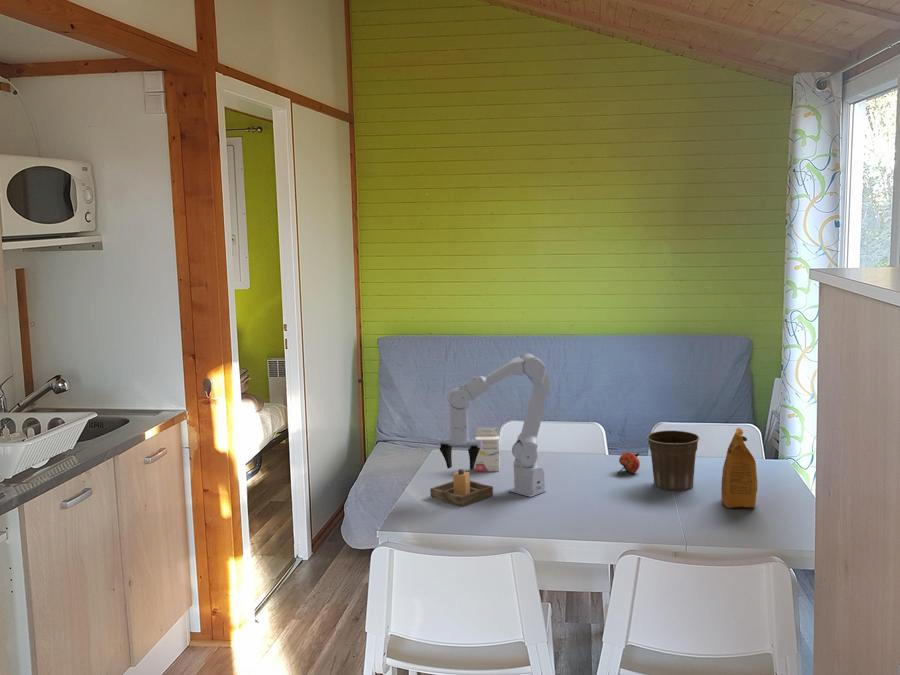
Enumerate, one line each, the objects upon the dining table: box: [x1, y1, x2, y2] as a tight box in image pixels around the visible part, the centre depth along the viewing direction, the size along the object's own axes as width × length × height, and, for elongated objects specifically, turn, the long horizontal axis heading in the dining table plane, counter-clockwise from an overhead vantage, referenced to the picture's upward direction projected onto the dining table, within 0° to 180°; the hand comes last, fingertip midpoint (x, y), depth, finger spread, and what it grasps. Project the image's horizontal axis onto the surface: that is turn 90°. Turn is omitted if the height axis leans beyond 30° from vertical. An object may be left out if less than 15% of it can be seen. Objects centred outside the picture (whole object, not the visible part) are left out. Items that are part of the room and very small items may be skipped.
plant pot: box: [646, 430, 700, 492], centre depth 272 cm, size 16×16×16 cm
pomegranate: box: [617, 452, 641, 475], centre depth 288 cm, size 7×7×10 cm
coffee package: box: [720, 427, 758, 509], centre depth 252 cm, size 10×12×22 cm
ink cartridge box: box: [474, 427, 501, 472], centre depth 298 cm, size 9×5×15 cm, turn 84°
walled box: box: [429, 480, 494, 508], centre depth 270 cm, size 14×14×3 cm
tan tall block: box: [452, 468, 471, 496], centre depth 270 cm, size 4×4×8 cm
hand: (460, 468), depth 269 cm, fingers open, 7 cm apart
